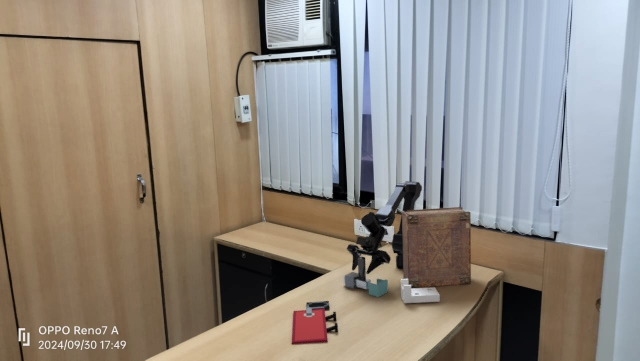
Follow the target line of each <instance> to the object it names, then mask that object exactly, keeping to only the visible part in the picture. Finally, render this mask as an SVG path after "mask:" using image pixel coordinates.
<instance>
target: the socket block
mask: <svg viewBox="0 0 640 361" xmlns="http://www.w3.org/2000/svg"><path fill="white" fill-rule="evenodd" d="M388 285H389V284H388V279H386V278H385V279H382V278H377V279H376V283H373V282H371V283H369V288H368V295H369V296H373V297H376V298H380V297H382V296H383V295H385V294H387V293H388V292H389V291H388V290H389V288H388Z"/></svg>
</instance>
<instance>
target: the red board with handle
mask: <svg viewBox="0 0 640 361" xmlns="http://www.w3.org/2000/svg"><path fill="white" fill-rule="evenodd" d="M330 308H331V307H330V301H329V300H325V301H324V300H323V301H309V302H306V309H302V310H293V313H292V332H291V344H292V345H299V344H300V345H301V344H317V343H328V342H329V341H328V333H329V332H332V331H334V332H335V333H339V325H338V322H336V321H337V312H336V311H332V314H329V315H327V316H326V311H325V310H326V309H330ZM331 319H333V321H334V325H332V326H330V327H329V326H328V327H327V322H326V321H329V320H331Z"/></svg>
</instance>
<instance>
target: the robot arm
mask: <svg viewBox="0 0 640 361" xmlns="http://www.w3.org/2000/svg"><path fill="white" fill-rule="evenodd" d="M422 191H423V186H422V184H421V183H420V181H410V180H406V181H405V182H403V183H401V182H399V183H397V184H395V188H394V190H393V191H392V193H391V195H390V197H389V199H388V200H387V202H386V204H385V205H384V206H382V207H381V208H379V209H378V211H377V212H376V213H375V212H373V211H369V212H368V213H367V214H365V215H363V217H362V218H361V220H360V223H361V224H362V226H363V227H364V228H365V229H366V230H367V232H368V233H369V234H368V236H365V237H364V236H359V235H358V236H357V237H356V242H355V244H354V243H353V244H352V243H350V244H348V245H347V247H346V251H348V252H349V254H351V256H352V265H351V270H352V272H354V271H355V270H356V269H357V268H358V257H362V255H364V256H368V257H371V261H370V263H369V265H368V267H367V268H366V275H369V274H370V273H371V272H373V271H375V269H376V268H378V267H380V266H381V265H384V264H388V265H389V264H390V262H391V259H392V258H391V255H389V253H388V252H387V251H386V250H382V249H379V248H382V246H383V244H382V241H383V239H384V238H385V236H388V235H389V233H388V229H387V228H385V227H392V226H393V224H394V221H395V220H396V215H395V214H396V212H397V210H398V208H399V206H400V204H401V202H402V201H403V206H402V211H405V210H415V209H414V208H415V206H416V201H418V199H419V198H420V196H421V193H422ZM402 211H401V212H402ZM391 247H392V252H393V254H396V255H395V266H396V267H397V269H399V270H401V269H402V270H403V232H402V214H401V216H400V221H399V227H398V231H397V232H396V233H394V234H393V235H392V240H391Z"/></svg>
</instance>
